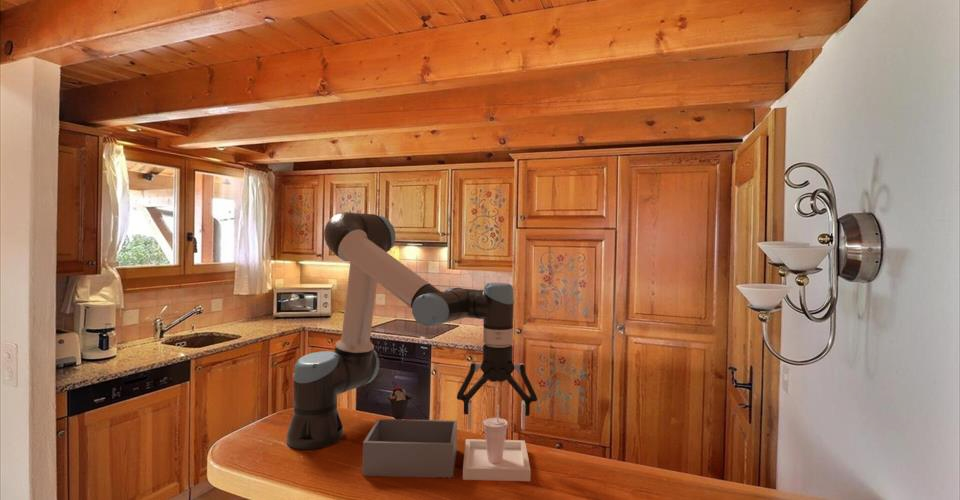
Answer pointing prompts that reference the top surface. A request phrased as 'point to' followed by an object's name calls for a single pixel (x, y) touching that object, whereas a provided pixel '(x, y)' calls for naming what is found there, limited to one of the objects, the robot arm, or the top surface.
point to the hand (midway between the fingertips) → (496, 427)
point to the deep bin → (410, 448)
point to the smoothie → (495, 437)
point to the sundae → (399, 402)
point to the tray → (507, 470)
